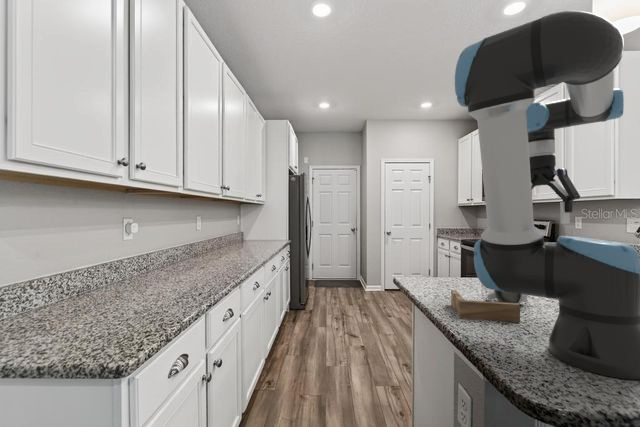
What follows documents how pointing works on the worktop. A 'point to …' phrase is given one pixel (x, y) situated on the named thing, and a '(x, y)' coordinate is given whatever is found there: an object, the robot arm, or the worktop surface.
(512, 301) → the ceramic mug
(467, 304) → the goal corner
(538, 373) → the worktop surface
